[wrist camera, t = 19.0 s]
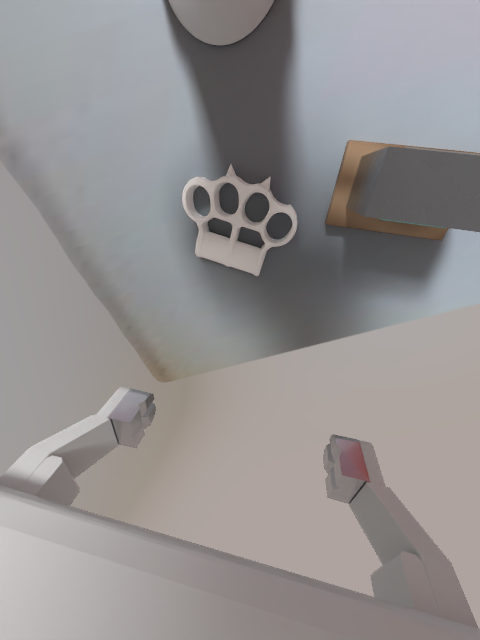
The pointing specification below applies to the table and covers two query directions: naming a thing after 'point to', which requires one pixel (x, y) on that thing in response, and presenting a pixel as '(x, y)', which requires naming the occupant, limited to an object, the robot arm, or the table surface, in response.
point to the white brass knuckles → (235, 223)
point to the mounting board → (351, 219)
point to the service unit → (419, 187)
